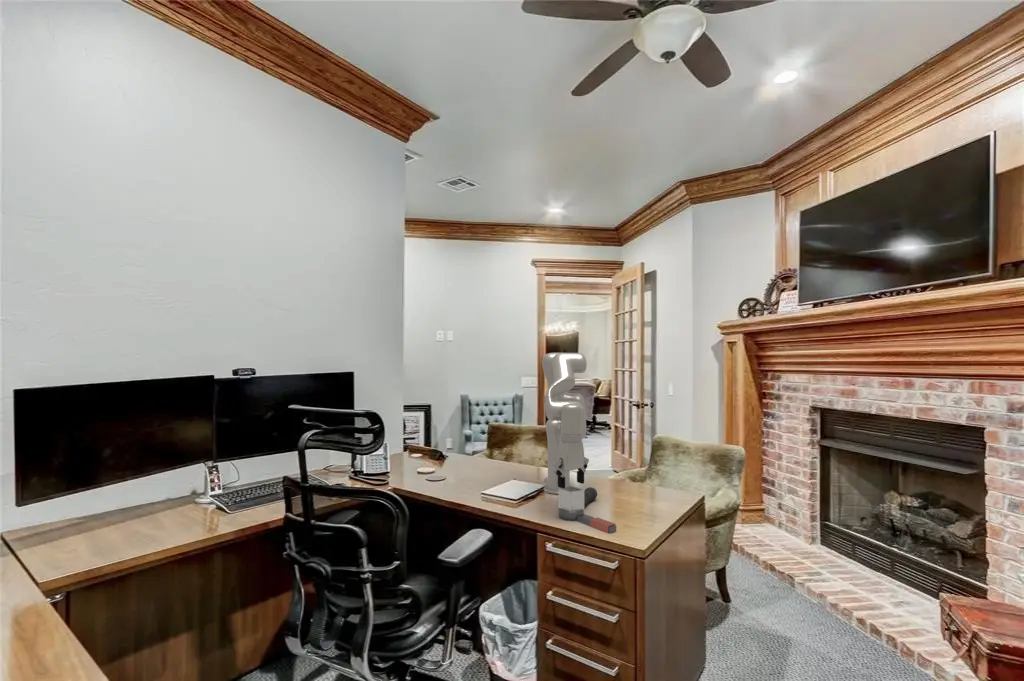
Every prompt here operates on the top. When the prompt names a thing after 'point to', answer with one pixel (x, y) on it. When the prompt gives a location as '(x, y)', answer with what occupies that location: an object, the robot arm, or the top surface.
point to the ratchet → (588, 520)
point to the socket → (571, 499)
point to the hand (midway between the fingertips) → (571, 485)
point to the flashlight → (589, 495)
